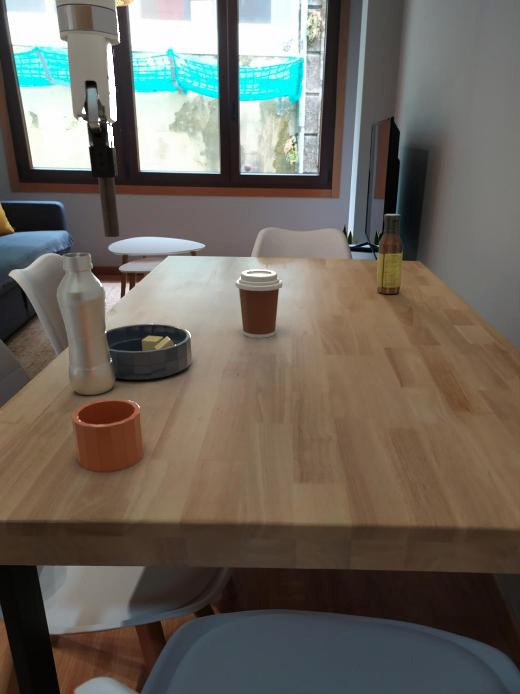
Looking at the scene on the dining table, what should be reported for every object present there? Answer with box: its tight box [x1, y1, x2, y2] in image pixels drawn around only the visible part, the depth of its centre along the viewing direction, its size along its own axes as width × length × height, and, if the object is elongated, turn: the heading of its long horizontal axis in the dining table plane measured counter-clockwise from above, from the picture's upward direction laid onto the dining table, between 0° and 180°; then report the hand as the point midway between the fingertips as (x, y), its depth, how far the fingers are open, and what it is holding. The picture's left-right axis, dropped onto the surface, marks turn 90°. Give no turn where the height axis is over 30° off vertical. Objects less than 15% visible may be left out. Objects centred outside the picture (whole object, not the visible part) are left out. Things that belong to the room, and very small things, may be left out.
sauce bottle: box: [376, 213, 404, 295], centre depth 140 cm, size 6×6×20 cm
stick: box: [97, 177, 121, 238], centre depth 79 cm, size 2×2×14 cm
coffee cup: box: [235, 269, 283, 339], centre depth 106 cm, size 9×9×12 cm
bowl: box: [106, 323, 193, 381], centre depth 90 cm, size 15×15×5 cm
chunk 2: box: [154, 337, 175, 350], centre depth 90 cm, size 3×3×3 cm
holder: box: [71, 398, 145, 473], centre depth 62 cm, size 7×7×6 cm
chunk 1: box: [142, 336, 163, 351], centre depth 94 cm, size 3×3×3 cm
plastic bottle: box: [56, 252, 116, 396], centre depth 77 cm, size 6×7×20 cm
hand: (105, 175), depth 79 cm, fingers closed on stick, 2 cm apart
